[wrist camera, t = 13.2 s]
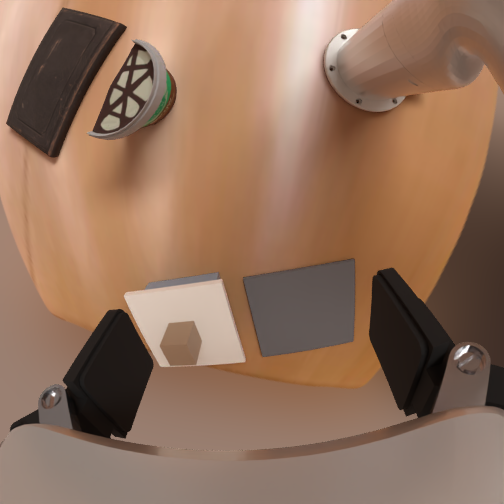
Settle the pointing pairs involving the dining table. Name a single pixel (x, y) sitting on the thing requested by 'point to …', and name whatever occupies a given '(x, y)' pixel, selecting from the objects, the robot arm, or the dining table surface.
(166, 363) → the lid
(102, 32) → the hardcover book
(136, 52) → the food container
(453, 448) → the robot arm
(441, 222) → the dining table surface
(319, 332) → the mat
